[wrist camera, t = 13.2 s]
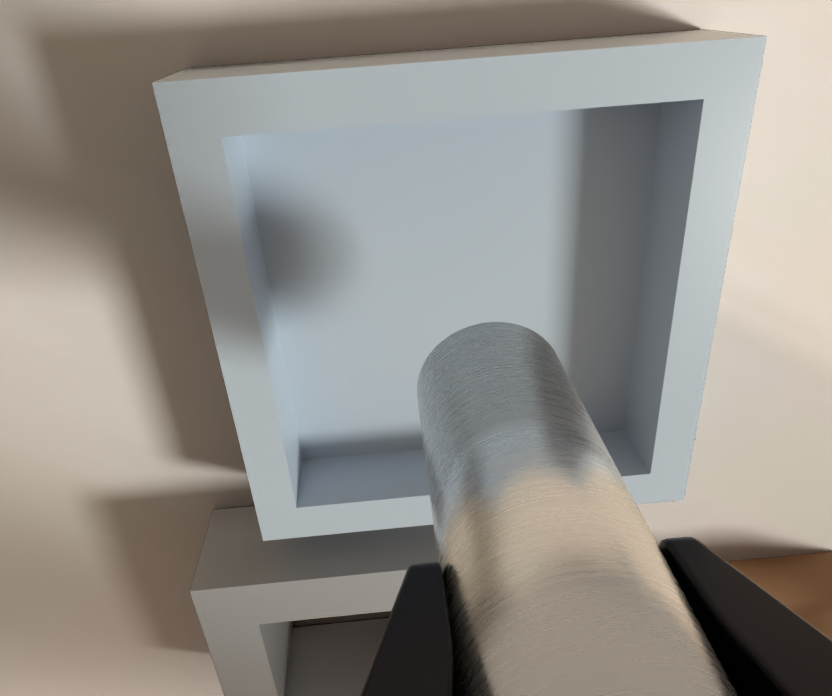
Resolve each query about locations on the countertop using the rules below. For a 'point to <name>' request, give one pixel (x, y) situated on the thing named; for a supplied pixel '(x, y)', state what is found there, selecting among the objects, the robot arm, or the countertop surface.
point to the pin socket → (298, 603)
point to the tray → (458, 246)
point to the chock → (796, 584)
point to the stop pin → (545, 535)
